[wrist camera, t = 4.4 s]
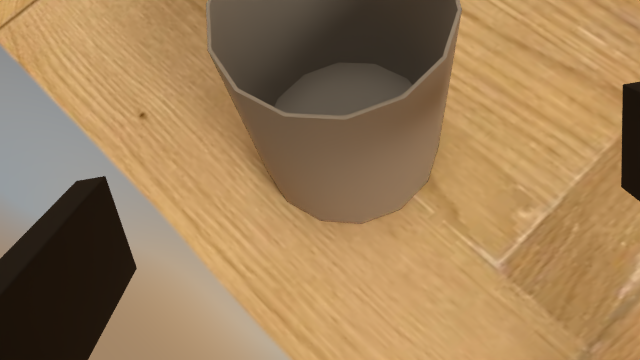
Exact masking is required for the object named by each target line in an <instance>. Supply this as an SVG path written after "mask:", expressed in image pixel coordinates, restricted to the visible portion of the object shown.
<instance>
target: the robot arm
mask: <svg viewBox="0 0 640 360" xmlns="http://www.w3.org/2000/svg"><path fill="white" fill-rule="evenodd" d="M621 187H622V188H623V189H625V190H626V191H627V192H628V193H630V194H631V195H632V196H634V197H635V198H636V199H637V200H639V201H640V82H635V83H630V84H624V85H623V111H622V178H621ZM135 270H136V265H135V262H134V259H133V256H132V253H131V250H130V247H129V244H128V242H127V239H126V235H125V233H124V230H123V227H122V224H121V221H120V218H119V215H118V212H117V209H116V206H115V203H114V200H113V198H112V195H111V192H110V189H109V186H108V183H107V180H106V177H104V176H103V177H98V178H92V179H86V180H80V181H76V182H75V183H74V184H73V185H72V186H71V187H70V188H69V189H68V190H67V191H66V192H65V193H64V194H63V195H62V196H61V197H60V198H59V200H57V202H56V203H55V204H54V205H53V206H52V207H51V208H50V209H49V210H48V211H47V212H46V213H45V214H44V215H43V216H42V217H41V218H40V219H39V220H38V221H37V222H36V223H35V224H34V225H33V226H32V227H31V228H30V229H29V230H28V231H27V232H26V233H25V234H24V235H23V236H22V237H21V238H20V239H19V240H18V241H17V242H16V243H15V244H14V246H12V247H11V249H9V250H8V252H6V253H5V254H4V255H3V257H2V258H1V259H0V360H88V359H89V357H90V355H91V353H92V351H93V349H94V347H95V345H96V344H97V342H98V339H99V338H100V336H101V334H102V332H103V330H104V329H105V327H106V325H107V323H108V321H109V319H110V317H111V315H112V314H113V312H114V310H115V308H116V306H117V304H118V302H119V300H120V298H121V297H122V295H123V293H124V291H125V289H126V287H127V285H128V283H129V282H130V279H131V278H132V276H133V274H134V272H135Z"/></svg>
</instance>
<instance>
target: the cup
mask: <svg viewBox="0 0 640 360" xmlns="http://www.w3.org/2000/svg"><path fill="white" fill-rule="evenodd" d="M461 11H462V8H461V4H460V0H208V1H207V3H206V17H207V42H208V52H209V54H210V56H211V58H212V60H213V62H214V64H215V66H216V68H217V70H218V72H219V74H220V76H221V78H222V80H223V82H224V84H225V86H226V88H227V90H228V92H229V94H230V96H231V98H232V100H233V102H234V104H235V106H236V108H237V110H238V112H239V114H240V116H241V118H242V120H243V123H244V125H245V127H246V129H247V131H248V133H249V135H250V137H251V139H252V141H253V143H254V145H255V147H256V149H257V151H258V153H259V155H260V157H261V159H262V161H263V163H264V165H265V167H266V169H267V171H268V173H269V174H270V176H271V177H272V179H273V180H274V182H275V183H276V185H277V187H278V188H279V190H280V191H281V193H282V194H283V196H284V197H285V199H286V200H287V202H289V203H291V204H293V205H294V206H296V207H298V208H300V209H301V210H303V211H305V212H307V213H308V214H310V215H312V216H314V217H315V218H317V219H319V220H321V221H334V222H347V223H360V224H362V223H365V222H367V221H370V220H373V219H375V218H378V217H381V216H384V215H386V214H389V213H392V212H394V211H397V210H400V209H401V208H402V207H403V206H404V205H405V204H406V203H407V202H408V201H409V200H410V199H411V198H412V197H413V196H414V195H415V194H416V193H417V192H418V191H419V190H420V189H421V188H422V187H423V186H424V185H425V184H426V183H427V181H428V179H429V175H430V172H431V169H432V166H433V162H434V159H435V156H436V152H437V149H438V146H439V140H440V134H441V128H442V122H443V117H444V111H445V105H446V99H447V93H448V87H449V82H450V76H451V70H452V64H453V58H454V52H455V46H456V41H457V35H458V29H459V23H460V17H461Z"/></svg>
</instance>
